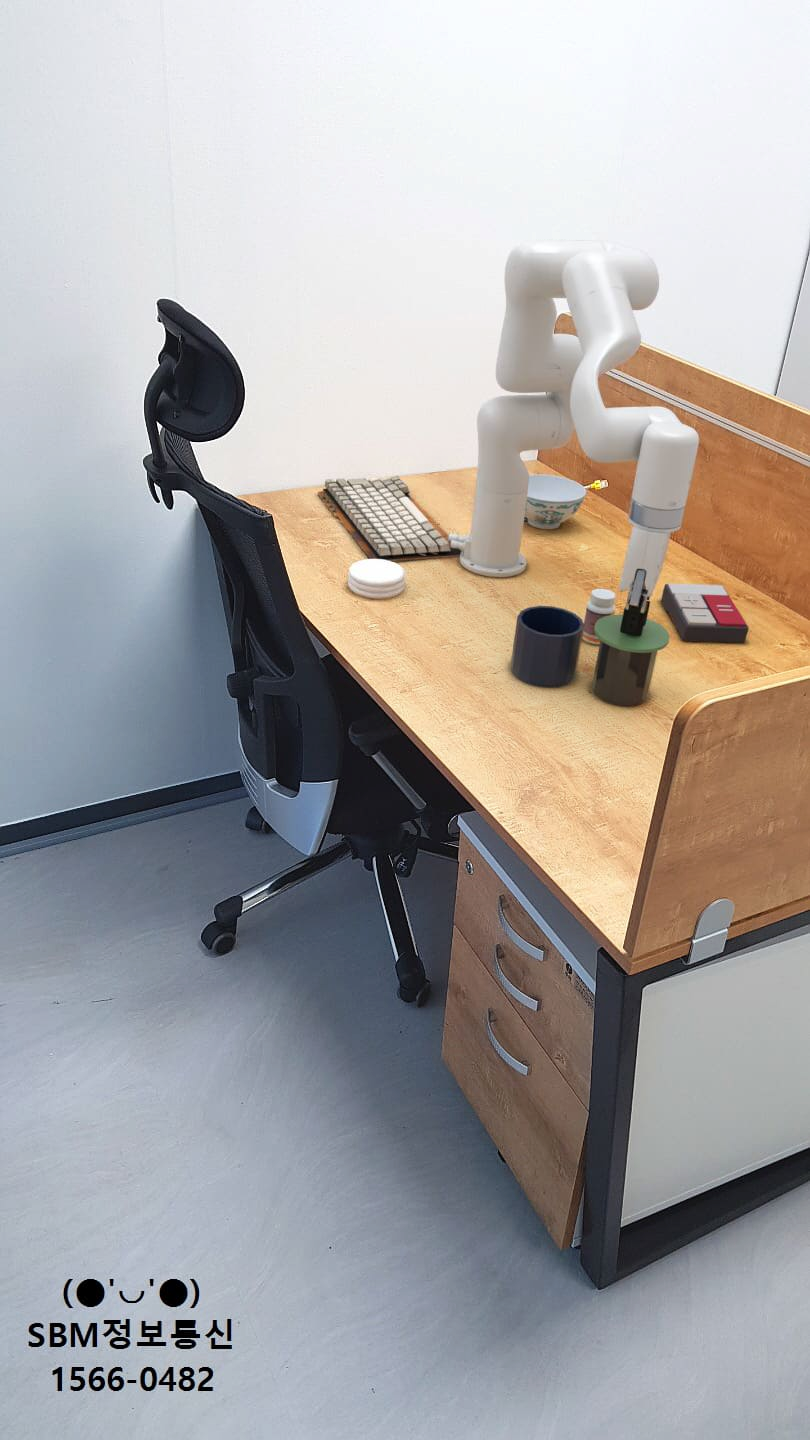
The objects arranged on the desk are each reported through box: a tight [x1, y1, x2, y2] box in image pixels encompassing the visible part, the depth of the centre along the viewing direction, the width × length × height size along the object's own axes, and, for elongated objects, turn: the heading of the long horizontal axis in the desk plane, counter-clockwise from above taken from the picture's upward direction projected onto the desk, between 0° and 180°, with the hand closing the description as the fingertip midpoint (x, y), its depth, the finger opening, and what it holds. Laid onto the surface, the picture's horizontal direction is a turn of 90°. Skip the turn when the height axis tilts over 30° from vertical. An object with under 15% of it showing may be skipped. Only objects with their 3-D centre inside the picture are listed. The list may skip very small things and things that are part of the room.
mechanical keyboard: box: [317, 475, 462, 563], centre depth 221 cm, size 38×19×3 cm, turn 21°
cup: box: [591, 640, 659, 708], centre depth 168 cm, size 9×9×10 cm
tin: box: [510, 605, 584, 689], centre depth 172 cm, size 10×10×9 cm
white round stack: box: [347, 558, 406, 600], centre depth 195 cm, size 10×10×4 cm
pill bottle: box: [582, 588, 617, 646], centre depth 183 cm, size 5×5×8 cm
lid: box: [594, 598, 671, 653], centre depth 164 cm, size 11×11×6 cm
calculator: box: [660, 582, 750, 644], centre depth 192 cm, size 11×4×15 cm
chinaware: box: [524, 473, 587, 530], centre depth 225 cm, size 15×15×8 cm
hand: (632, 627), depth 164 cm, fingers closed on lid, 2 cm apart
